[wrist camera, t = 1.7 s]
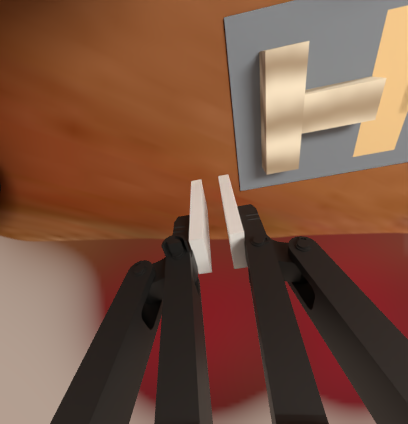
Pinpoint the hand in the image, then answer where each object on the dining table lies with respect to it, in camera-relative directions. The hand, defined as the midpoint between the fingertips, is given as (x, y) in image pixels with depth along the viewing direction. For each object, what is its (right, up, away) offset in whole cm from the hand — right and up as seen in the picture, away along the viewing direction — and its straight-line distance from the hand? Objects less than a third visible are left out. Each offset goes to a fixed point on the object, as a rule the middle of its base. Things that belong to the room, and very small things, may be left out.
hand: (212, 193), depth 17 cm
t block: (+15, +14, +14) cm, 25 cm away
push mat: (+22, +15, +14) cm, 30 cm away
